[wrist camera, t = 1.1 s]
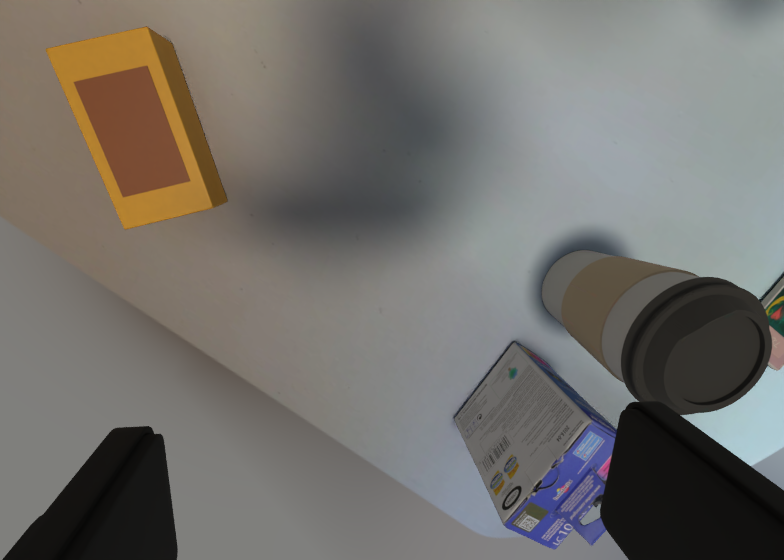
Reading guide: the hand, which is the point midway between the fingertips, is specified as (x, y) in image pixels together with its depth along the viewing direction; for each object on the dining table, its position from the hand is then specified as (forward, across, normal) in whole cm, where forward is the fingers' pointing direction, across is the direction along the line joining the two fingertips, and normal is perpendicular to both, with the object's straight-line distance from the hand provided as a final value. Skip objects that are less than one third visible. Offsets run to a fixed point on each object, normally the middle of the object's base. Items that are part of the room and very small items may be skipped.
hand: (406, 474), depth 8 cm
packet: (+27, +14, -7) cm, 31 cm away
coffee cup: (+27, -21, +4) cm, 34 cm away
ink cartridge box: (+27, -15, +15) cm, 34 cm away
